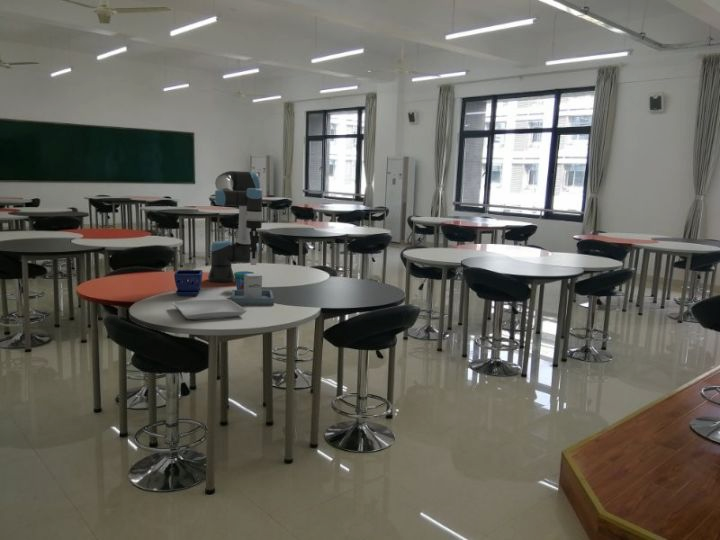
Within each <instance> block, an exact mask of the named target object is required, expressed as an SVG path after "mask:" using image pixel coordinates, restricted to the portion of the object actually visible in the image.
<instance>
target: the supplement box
mask: <svg viewBox="0 0 720 540" xmlns="http://www.w3.org/2000/svg"><path fill="white" fill-rule="evenodd" d="M262 285H263V275H262V274H260V273H259V272H258V273H254V274H244V298H262V290H263V289H262V288H263V286H262Z"/></svg>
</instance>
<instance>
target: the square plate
mask: <svg viewBox="0 0 720 540" xmlns="http://www.w3.org/2000/svg"><path fill="white" fill-rule="evenodd" d="M171 304H172V305H173V306H174V307H175V309H177V310H178V311H179V312H180V313H181V315H182V316H183V317H185V319H187V320H193V321H196V320H197V321H199V320H213V318H215V319H224V318H225V319H226V318H234V317H239V316H242V315H244V314H245V313H246V312H247V310H246V308H244V307H242V305H238V304H236V303H235V302H233V301H232V299H229V298H223V299H222V298H221V299H218V298H217V299H196V300H195V299H194V300H184V301H172V302H171Z"/></svg>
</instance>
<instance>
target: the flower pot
mask: <svg viewBox="0 0 720 540" xmlns="http://www.w3.org/2000/svg"><path fill="white" fill-rule="evenodd" d="M202 280H203V270H202V269H179V270H178V269H177V270H176V271H175V273H174V283H175V287H176V289H177V290H176V291H175V294H176V295H177V296H179V297H194V296H195V297H197V296H198V295H199V294H200V291H201V289H202V288H201V285H202Z"/></svg>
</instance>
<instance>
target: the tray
mask: <svg viewBox="0 0 720 540" xmlns="http://www.w3.org/2000/svg"><path fill="white" fill-rule="evenodd" d="M231 292H232V293H231V300H232V301H233V302H235V303H236V304H238V305H239V306H275V304H274V303H275V297H274V293H273V291H272V289H262V298H244V290H237V289H232V291H231Z"/></svg>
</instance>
